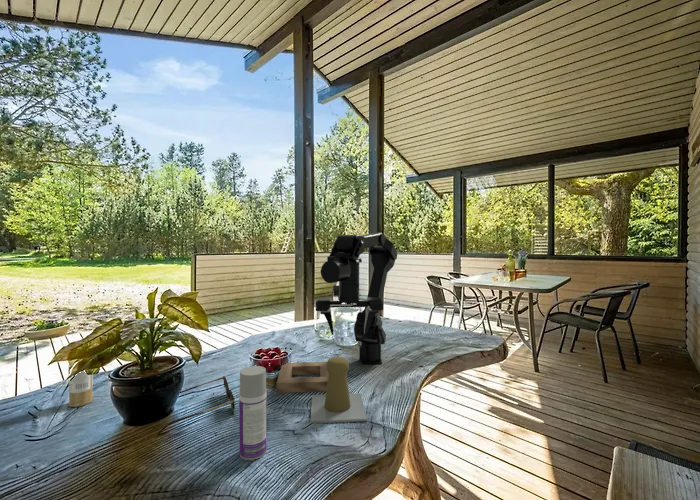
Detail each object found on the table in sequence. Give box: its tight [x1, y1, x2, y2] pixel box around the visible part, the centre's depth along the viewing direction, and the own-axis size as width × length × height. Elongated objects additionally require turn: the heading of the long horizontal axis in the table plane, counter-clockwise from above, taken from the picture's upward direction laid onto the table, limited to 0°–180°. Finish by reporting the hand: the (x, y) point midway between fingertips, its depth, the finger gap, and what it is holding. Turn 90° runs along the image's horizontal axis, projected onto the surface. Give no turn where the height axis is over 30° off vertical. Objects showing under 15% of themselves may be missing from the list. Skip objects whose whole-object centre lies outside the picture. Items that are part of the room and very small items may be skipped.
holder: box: [275, 361, 329, 394], centre depth 92 cm, size 14×14×2 cm
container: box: [238, 365, 268, 461], centre depth 61 cm, size 5×5×15 cm
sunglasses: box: [158, 375, 235, 433], centre depth 75 cm, size 14×15×5 cm
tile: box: [310, 392, 368, 424], centre depth 77 cm, size 12×12×1 cm
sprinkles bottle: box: [68, 366, 94, 408], centre depth 79 cm, size 5×5×13 cm
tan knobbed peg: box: [325, 356, 351, 413], centre depth 77 cm, size 6×6×11 cm
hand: (348, 334), depth 95 cm, fingers open, 9 cm apart
